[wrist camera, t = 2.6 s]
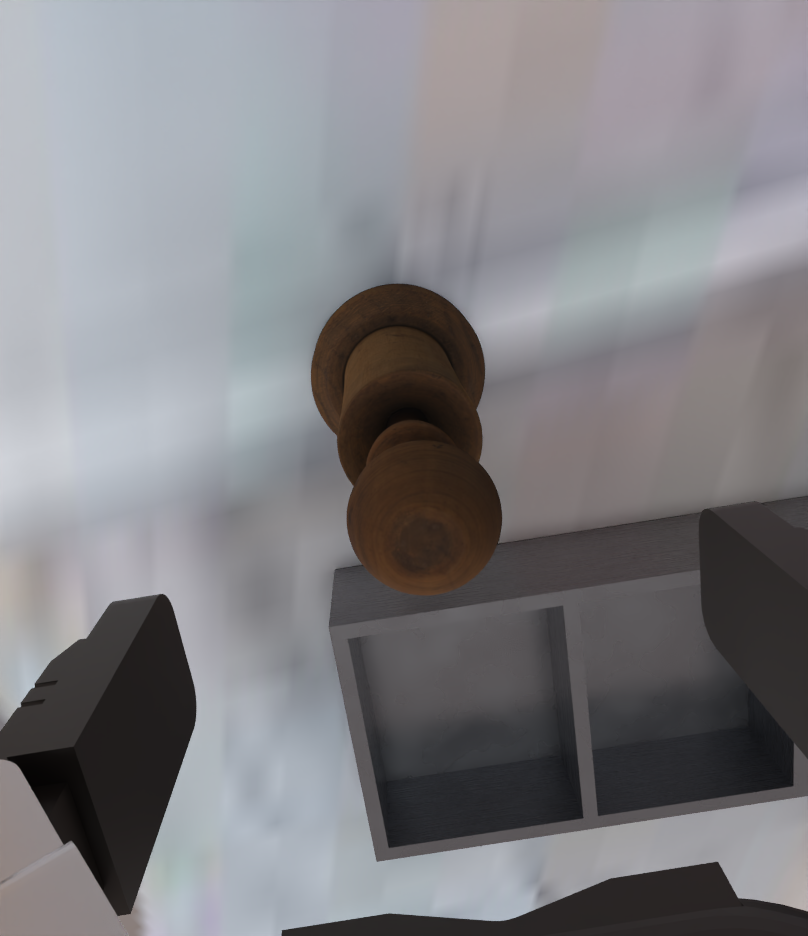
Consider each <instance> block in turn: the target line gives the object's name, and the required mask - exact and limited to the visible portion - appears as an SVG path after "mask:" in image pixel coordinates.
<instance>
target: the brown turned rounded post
mask: <svg viewBox="0 0 808 936" xmlns="http://www.w3.org/2000/svg"><path fill="white" fill-rule="evenodd" d="M484 379H485V363H484V356H483V352H482V348H481V345H480V342H479V340H478V337H477V335H476V333H475V332H474V330H473V328H472V327H471V325H470V324H469V322H468V321H467V320H466V319H465V317H464V316H463V315H462V314H461V312H460V311H459V310H458V309H457V308H456V307H455V306H454V305H453V304H451V303H450V302H449V301H448V300H446V299H445V298H443V297H442V296H440V295H438V294H436V293H434V292H432V291H430V290H428V289H425V288H422V287H418V286H414V285H408V284H388V285H382V286H377V287H374V288H371V289H368V290H366V291H363V292H361V293H359V294H357V295H356V296H354V297H352V298H351V299H349V300H348V301H346V302H345V303H344V304H343V305H342V306H341V307H340V308H339V309H338V310H337V311H336V312H335V313H334V314H333V315H332V316H331V318H330V319H329V320H328V322H327V323H326V325H325V326H324V328H323V330H322V332H321V334H320V336H319V339H318V341H317V344H316V348H315V352H314V355H313V360H312V367H311V384H312V391H313V396H314V400H315V403H316V405H317V408H318V410H319V412H320V414H321V416H322V418H323V419H324V421H325V422H326V424H327V425H328V426H329V428H330V429H331V430H332V431H333V432H334V433H335V434H336V435H337V445H338V453H339V458H340V462H341V464H342V467H343V469H344V472H345V474H346V475H347V477H348V479H349V480H350V482H351V483H352V484H353V486H354V487H353V490H352V492H351V495H350V499H349V502H348V508H347V529H348V534H349V538H350V542H351V545H352V547H353V550H354V552H355V554H356V556H357V557H358V559H359V560H360V562H361V563H362V565H363V566H364V567H365V568H366V570H367V571H368V572H369V573H370V574H371V575H373V576H374V577H375V578H376V579H377V580H379V581H380V582H382V583H383V584H385V585H387V586H388V587H390V588H392V589H395V590H397V591H400V592H403V593H407V594H412V595H424V596H428V595H438V594H443V593H446V592H449V591H452V590H455V589H457V588H459V587H461V586H463V585H465V584H466V583H468V582H469V581H470V580H472V579H473V578H474V577H475V576H476V575H478V574H479V573H480V572H481V570H482V569H483V568H484V567H485V566H486V564H487V563H488V562H489V560H490V558H491V557H492V555H493V553H494V551H495V549H496V546H497V543H498V541H499V537H500V532H501V526H502V511H501V503H500V499H499V495H498V492H497V490H496V487H495V485H494V483H493V481H492V479H491V478H490V476H489V475H488V473H487V472H486V470H485V469H484V468H483V467H482V466H481V465H480V464H479V463H478V462H479V459H480V456H481V451H482V428H481V423H480V419H479V416H478V413H477V411H476V408H477V406H478V404H479V401H480V399H481V395H482V392H483V387H484Z"/></svg>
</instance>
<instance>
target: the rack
mask: <svg viewBox="0 0 808 936" xmlns="http://www.w3.org/2000/svg"><path fill="white" fill-rule="evenodd" d="M761 504H762V505H763V506H765V507H766V508H768V509H769V510H770V511H772V512H773V513H775V514H776V515H777V516H779V517H780V518H782V519H783V520H784V521H786V522H787V523H789V524H790V525H792V526H793V527H794V528H797V527H801V528H804V529H807V530H808V496H806V497H800V498H793V499H787V500H780V501H774V502H768V503H761ZM700 515H701V513H697V514H690V515H684V516H677V517H671V518H665V519H658V520H652V521H645V522H639V523H632V524H626V525H619V526H613V527H607V528H600V529H594V530H587V531H581V532H574V533H568V534H561V535H555V536H549V537H542V538H536V539H529V540H523V541H516V542H510V543H504V544H497V546H496V549H495V551H494V553H493V555H492V557H491V558H490V560H489V562H488V563H487V564H486V566H485V567H484V568H483V569H482V570H481V572H480V573H479V574H478V575H476V576H475V577H474V578H473V579H472V580H470V581H469V582H468V583H466V584H465V585H463V586H461V587H459V588H457V589H455V590H452V591H449V592H446V593H443V594H438V595H428V596H424V595H412V594H407V593H403V592H400V591H397V590H395V589H392V588H390V587H388V586H387V585H385V584H383V583H382V582H380V581H379V580H377V579H376V578H375V577H374V576H373V575H371V574H370V573H369V572H368V571H367V570H366V568H365V567H364V566H363V565H362V566H355V567H349V568H343V569H336V570H335V573H334V583H333V593H332V602H331V612H330V622H329V630H330V635H331V640H332V645H333V650H334V655H335V660H336V664H337V669H338V674H339V679H340V684H341V689H342V694H343V699H344V704H345V709H346V713H347V718H348V723H349V728H350V733H351V738H352V743H353V748H354V753H355V758H356V762H357V767H358V772H359V777H360V782H361V787H362V792H363V797H364V802H365V806H366V811H367V816H368V821H369V826H370V831H371V836H372V841H373V846H374V851H375V855H376V860H377V862H378V861H384V860H391V859H397V858H404V857H410V856H417V855H423V854H430V853H437V852H443V851H450V850H456V849H463V848H469V847H476V846H482V845H489V844H495V843H502V842H509V841H515V840H522V839H528V838H535V837H541V836H548V835H554V834H561V833H567V832H574V831H581V830H587V829H594V828H600V827H607V826H613V825H620V824H626V823H633V822H640V821H646V820H653V819H659V818H666V817H672V816H679V815H685V814H692V813H698V812H705V811H712V810H718V809H725V808H731V807H738V806H744V805H751V804H757V803H764V802H771V801H777V800H784V799H790V798H797V797H803V796H808V759H807V758H806V757H805V755H804V754H803V753H802V752H801V750H800V749H799V748H798V747H797V746H796V744H795V743H794V742H793V741H792V740H791V738H790V737H789V736H788V735H787V733H786V732H785V731H784V730H783V729H782V727H781V726H780V725H779V724H778V723H777V721H776V720H775V719H774V718H773V717H772V715H771V714H770V713H769V712H768V710H767V709H766V708H765V707H764V706H763V704H762V703H761V702H760V701H759V700H758V698H757V697H756V696H755V695H754V693H753V692H752V691H751V690H750V689H749V687H748V686H747V685H746V684H745V683H744V681H743V680H742V679H741V678H740V677H739V675H738V674H737V673H736V672H735V670H734V669H733V668H732V667H731V666H730V664H729V663H728V662H727V661H726V660H725V658H724V657H723V656H722V655H721V653H720V652H719V651H718V650H717V649H716V647H715V646H714V644H713V643H712V641H711V639H710V637H709V635H708V632H707V629H706V626H705V623H704V619H703V614H702V608H701V584H700V554H699V519H700Z"/></svg>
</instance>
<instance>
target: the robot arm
mask: <svg viewBox="0 0 808 936" xmlns="http://www.w3.org/2000/svg"><path fill="white" fill-rule="evenodd" d="M699 554H700V584H701V608H702V614H703V619H704V623H705V626H706V629H707V632H708V635H709V637H710V639H711V641H712V643H713V644H714V646H715V647H716V649H717V650H718V651H719V652H720V653H721V655H722V656H723V657H724V658H725V660H726V661H727V662H728V663H729V664H730V666H731V667H732V668H733V669H734V670H735V672H736V673H737V674H738V675H739V677H740V678H741V679H742V680H743V681H744V683H745V684H746V685H747V686H748V687H749V689H750V690H751V691H752V692H753V693H754V695H755V696H756V697H757V698H758V700H759V701H760V702H761V703H762V704H763V706H764V707H765V708H766V709H767V710H768V712H769V713H770V714H771V715H772V717H773V718H774V719H775V720H776V721H777V723H778V724H779V725H780V726H781V727H782V729H783V730H784V731H785V732H786V733H787V735H788V736H789V737H790V738H791V740H792V741H793V742H794V743H795V744H796V746H797V747H798V748H799V749H800V750H801V752H802V753H803V754H804V755H805V757H806V758H807V759H808V530H807V529H804V528H801V527H797V528H794V527H793V526H792V525H790V524H789V523H787V522H786V521H784V520H783V519H782V518H780V517H779V516H777V515H776V514H775V513H773V512H772V511H770V510H769V509H768V508H766V507H765V506H763V505H762V504H760V503H759V502H755V501H754V502H748V503H741V504H735V505H729V506H722V507H716V508H710V509H705V510H703V511H702V513H701V515H700V519H699ZM195 721H196V695H195V688H194V684H193V680H192V676H191V672H190V669H189V665H188V662H187V658H186V654H185V651H184V647H183V643H182V640H181V636H180V632H179V629H178V625H177V621H176V618H175V614H174V611H173V607H172V605H171V603H170V601H169V599H168V598H167V596H165V595H164V594H159V595H153V596H146V597H140V598H134V599H127V600H121V601H115V602H112V603H111V604H110V605H109V606H108V608H107V609H106V611H105V612H104V613H103V615H102V616H101V618H100V619H99V621H98V622H97V624H96V625H95V627H94V628H93V630H92V631H91V633H90V634H89V636H88V637H87V639H80V640H78V641H77V642H75V643H74V644H73V645H71V646H70V647H69V648H68V649H66V650H65V651H64V652H62V653H61V654H60V655H59V656H57V657H56V658H55V659H53V660H52V661H51V662H50V663H49V665H48V666H47V668H46V669H45V670H44V672H43V673H42V674H41V676H40V677H39V679H38V680H37V681H36V683H35V688H32V689H31V690H30V691H29V692H28V694H27V695H26V697H25V698H24V699H23V701H22V702H21V707H20V708H17V709H16V710H15V712H14V713H13V715H12V716H11V717H10V719H9V720H8V722H7V723H6V724H5V726H4V727H3V729H2V730H1V731H0V936H129V935H128V933H127V931H126V930H125V928H124V926H123V924H122V923H121V921H120V919H119V918H118V916H120V915H126V914H131V911H132V908H133V905H134V902H135V899H136V896H137V893H138V890H139V887H140V885H141V882H142V879H143V876H144V873H145V870H146V867H147V864H148V861H149V858H150V855H151V852H152V849H153V847H154V844H155V841H156V838H157V835H158V832H159V829H160V826H161V823H162V820H163V817H164V814H165V811H166V808H167V806H168V803H169V800H170V797H171V794H172V791H173V788H174V785H175V782H176V779H177V776H178V773H179V770H180V768H181V765H182V762H183V759H184V756H185V753H186V750H187V747H188V744H189V741H190V738H191V735H192V732H193V730H194V726H195ZM282 936H808V911H804V910H800V909H796V908H793V907H789V906H785V905H781V904H776V903H770V902H764V901H758V900H751V899H740V898H738V897H737V896H736V894H735V892H734V890H733V888H732V886H731V885H730V883H729V881H728V879H727V877H726V876H725V874H724V872H723V870H722V868H721V867H720V865H719V863H718V862H713V863H707V864H700V865H694V866H688V867H681V868H675V869H669V870H662V871H656V872H649V873H643V874H637V875H630V876H624V877H618V878H611V879H609V880H606V881H604V882H601V883H599V884H596V885H594V886H592V887H589V888H587V889H584V890H582V891H579V892H577V893H575V894H572V895H570V896H567V897H565V898H562V899H560V900H558V901H555V902H553V903H550V904H548V905H546V906H543V907H541V908H538V909H536V910H533V911H531V912H529V913H526V914H524V915H521V916H519V917H516V918H513V919H510V920H505V921H483V920H470V919H456V918H443V917H429V916H416V915H402V914H383V915H377V916H370V917H364V918H358V919H351V920H345V921H338V922H332V923H326V924H319V925H313V926H307V927H300V928H294V929H288V930H282Z"/></svg>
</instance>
